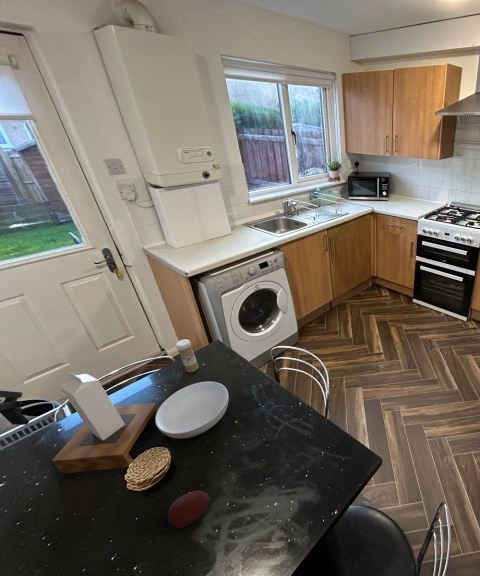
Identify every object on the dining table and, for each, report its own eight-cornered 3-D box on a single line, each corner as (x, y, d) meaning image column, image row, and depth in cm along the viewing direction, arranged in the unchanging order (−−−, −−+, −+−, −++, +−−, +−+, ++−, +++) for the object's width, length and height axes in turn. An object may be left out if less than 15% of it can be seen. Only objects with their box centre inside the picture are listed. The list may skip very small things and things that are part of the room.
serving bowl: (242, 395, 113) (238, 381, 110) (214, 448, 95) (208, 434, 91) (186, 393, 113) (180, 380, 110) (146, 447, 95) (138, 432, 92)
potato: (175, 506, 81) (167, 493, 78) (213, 493, 83) (207, 481, 81) (169, 538, 75) (160, 526, 72) (210, 523, 77) (203, 511, 74)
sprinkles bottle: (188, 374, 122) (178, 348, 115) (184, 369, 124) (173, 342, 118) (201, 368, 125) (191, 342, 118) (196, 363, 127) (186, 337, 121)
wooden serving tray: (62, 473, 88) (51, 460, 85) (104, 419, 103) (96, 407, 100) (130, 466, 90) (122, 454, 87) (162, 414, 105) (156, 402, 102)
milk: (113, 417, 97) (81, 364, 87) (125, 424, 95) (94, 370, 84) (91, 433, 92) (53, 379, 82) (103, 441, 90) (66, 386, 79)
